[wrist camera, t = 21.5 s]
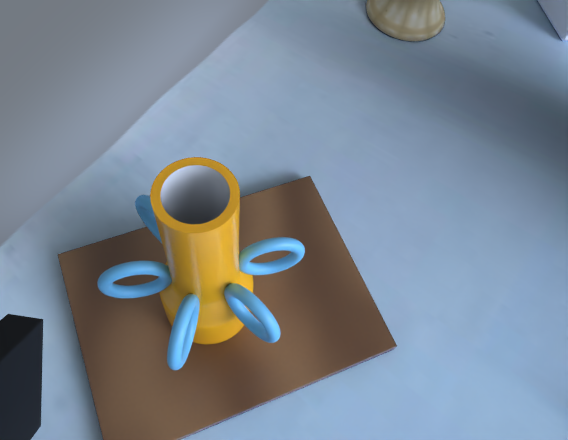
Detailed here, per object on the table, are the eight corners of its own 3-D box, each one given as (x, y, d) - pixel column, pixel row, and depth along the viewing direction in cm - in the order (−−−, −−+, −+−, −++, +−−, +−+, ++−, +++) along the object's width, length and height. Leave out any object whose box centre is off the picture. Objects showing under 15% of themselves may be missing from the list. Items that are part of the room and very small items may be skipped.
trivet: (308, 182, 44) (309, 175, 43) (393, 349, 38) (397, 346, 37) (61, 259, 39) (57, 254, 38) (113, 468, 32) (109, 467, 32)
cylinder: (92, 294, 37) (13, 177, 23) (204, 204, 41) (191, 62, 27) (212, 425, 33) (199, 375, 20) (322, 313, 37) (370, 210, 24)
